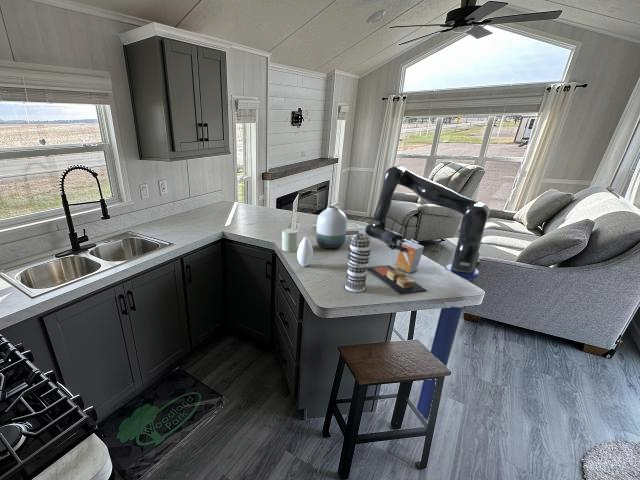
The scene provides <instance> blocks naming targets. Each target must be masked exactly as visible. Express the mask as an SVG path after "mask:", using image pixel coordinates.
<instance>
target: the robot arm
mask: <svg viewBox="0 0 640 480" xmlns="http://www.w3.org/2000/svg"><path fill="white" fill-rule="evenodd" d="M398 185H400V186H402V187H405V188H407V189H409V190H411V191H412V192H414V194H416V195H417V196H418V197H419V198H421V199H422V200H424V201H427V202H428V203H430V204H432V205H434V206H438V207H442V208H447V209H449V210H452V211H453V210H454V211H455V212H457V213H459V214H461V215H462V218H461V223H460V228H459V235H458V240H457V242H456V243H457V244H456V247H455V250H454V251H455V252H454V256H453V260H452V263H451V264H452V266H451V268H452V269H453V270H455V271H457V272H461V273H472V272H473V271H475V269H477V267H479V266H480V264H481V260H480V259H479V257H480V252H479V251H480V247H481V244H482V240H483V237H484V230H485V227H486V223H487V219H488V218H489V216H490V214H491V211H490V208H489V206H488V205H486V204H485V203H482V202H480V201H477V200H474V199H471V198H467V197H466V196H463V195H461V194H459V193H457V192H455V191H453V190H452V189H449V188H448V187H445V186H443V185H442V184H439V183H437V182H435V181H432V180H430V179H427V178H424V177H422V176H419V175H417V174H415V173H413V172H412V171H410V170H408V169H407V168H405V167H403V166H401V165H395V166H391V167H389V168H388V169H387V170H386V171H385V172H384V177H383V182H382V186H381V187H382V188H381V192H380V196H379V198H378V202H377V204H376V207H375V210H374V213H373V215H372V218H373V220H374V221H376V222H377V223H369V224H367V225H366V226H365V230H364V231H365V232H364V233H365V234H367V235H368V236H369V237H370V238H373V239H377V240H379V241H381V242H383V243H384V244H385V245H386V247H387V248H389V249H390V250H392V251H393V250H396V251H401V252H404V249H405V248H404V247H402V246H401V244H402V243H404V242H407V241H411V242H414V243H417V244H419V245H420V242H419V241H417V240H414V239H412V238H410V239H408V240H407V239H405V238H404V236H403V235H402V234H401V233H398V232H395V231H393V230H390V229H388V228H386V226H387V218H388V215H389V213H390V210H391V206H392V200H393V197H394V193H395V191H396V189H397V186H398Z"/></svg>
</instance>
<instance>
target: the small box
mask: <svg viewBox="0 0 640 480" xmlns="http://www.w3.org/2000/svg"><path fill="white" fill-rule="evenodd" d="M401 246H402V247H404V248H405V249H404V252H401V251H400V250H398V251H399V252H398V255H397V259H396V261H395V265H394V266H395V267H396V268H398V269H400V270H403V271H404V272H405V273H406V272H407V273H408V274H410V273H412V272H416V271H417V270H418V268H419V264H420V261H421V258H422V255H423V251H424V249H425V246H424V245H421V244H420V243H419V244H417V243H414V242H411V241H409V240H408V241H407V242H404V243H402V244H401Z"/></svg>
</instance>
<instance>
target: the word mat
mask: <svg viewBox="0 0 640 480" xmlns="http://www.w3.org/2000/svg"><path fill="white" fill-rule="evenodd" d="M366 270H368V271H369V272H371V273H372V274H374V275H375V276H376V277H377V278H379V279H380V280H381V281H383V282H384V283H386V284H387V285H388V286H390V287H391V288H392V289H393V290H394V291H396V292H398V293H399V294H400V295H403V294H412V293H420V292H421V293H422V292H427V290H426V289H425V288H424V287H422V286H421V285H420V284H418V283H416V282H415V283H414V287H411V288H402V287H401V286H399V285H398V284H397V280H395V281H392V280H391V279H390V278H388V277H387V271H389V270H396V269H395V268H393V267H392V266H391V265H380V266H371V267H366ZM403 277H407V276H405V275H404V274H403Z"/></svg>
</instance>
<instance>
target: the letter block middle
mask: <svg viewBox="0 0 640 480" xmlns="http://www.w3.org/2000/svg"><path fill="white" fill-rule="evenodd" d="M403 275H404V272H402V271H400V270H398V269H395V270H389V271H387V277H388V278H390V279H391V280H392V281H395V280H397V279H398V278H399V277H403Z"/></svg>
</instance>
